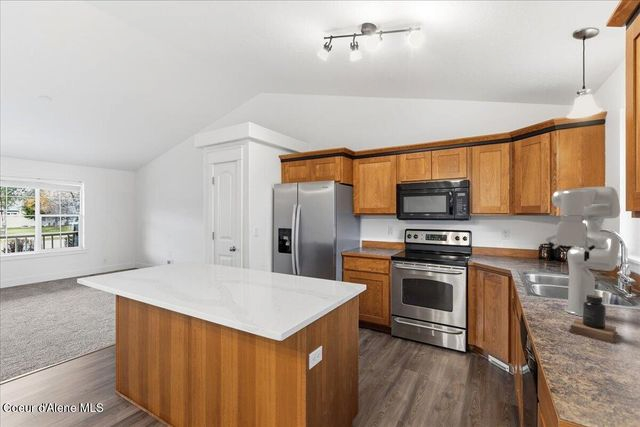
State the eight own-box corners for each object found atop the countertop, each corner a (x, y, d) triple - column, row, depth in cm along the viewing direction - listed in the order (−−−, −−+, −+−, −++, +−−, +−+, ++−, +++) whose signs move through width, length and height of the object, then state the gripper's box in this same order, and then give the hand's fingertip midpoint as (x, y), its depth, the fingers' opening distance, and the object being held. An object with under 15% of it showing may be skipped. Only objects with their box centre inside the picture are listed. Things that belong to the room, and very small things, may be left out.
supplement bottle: (609, 330, 117) (610, 299, 117) (589, 328, 119) (590, 298, 118) (597, 323, 124) (598, 294, 124) (578, 321, 125) (579, 293, 125)
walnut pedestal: (575, 324, 131) (575, 317, 130) (617, 334, 121) (617, 327, 121) (568, 332, 122) (569, 324, 122) (613, 343, 112) (613, 335, 112)
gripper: (600, 219, 124) (598, 260, 125) (548, 218, 137) (547, 255, 138) (598, 220, 119) (597, 263, 120) (545, 219, 132) (544, 257, 132)
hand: (570, 259), depth 129 cm, fingers open, 9 cm apart
